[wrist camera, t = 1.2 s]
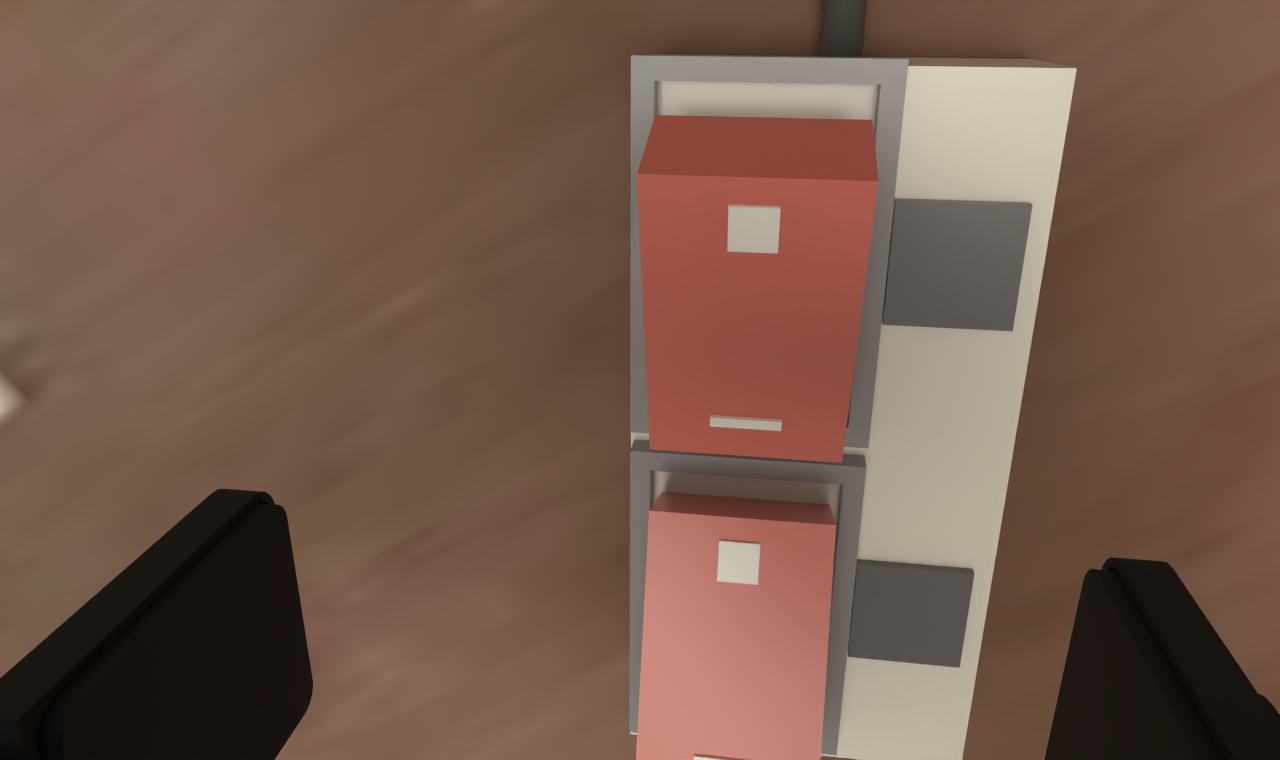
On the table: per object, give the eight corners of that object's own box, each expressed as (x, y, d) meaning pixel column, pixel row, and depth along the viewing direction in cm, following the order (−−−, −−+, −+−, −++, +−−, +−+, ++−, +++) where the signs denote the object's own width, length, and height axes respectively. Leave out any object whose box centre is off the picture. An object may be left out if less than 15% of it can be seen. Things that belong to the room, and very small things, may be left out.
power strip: (1051, -94, 26) (1118, -120, 21) (938, 672, 36) (964, 789, 30) (659, -90, 28) (626, -115, 22) (650, 644, 37) (626, 750, 32)
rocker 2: (829, 504, 28) (835, 526, 25) (812, 766, 28) (817, 819, 25) (662, 491, 29) (648, 511, 26) (648, 748, 29) (633, 797, 26)
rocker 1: (872, 119, 22) (879, 183, 19) (839, 388, 27) (841, 465, 24) (655, 115, 22) (636, 175, 20) (663, 377, 27) (649, 451, 25)
